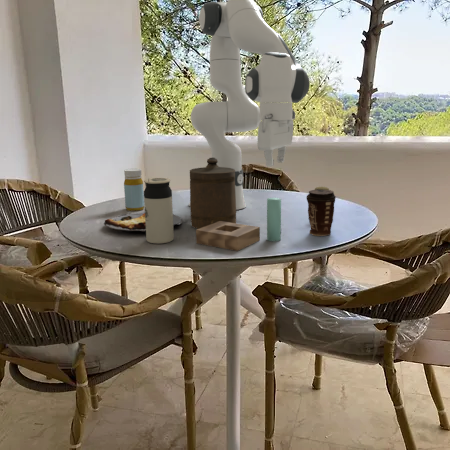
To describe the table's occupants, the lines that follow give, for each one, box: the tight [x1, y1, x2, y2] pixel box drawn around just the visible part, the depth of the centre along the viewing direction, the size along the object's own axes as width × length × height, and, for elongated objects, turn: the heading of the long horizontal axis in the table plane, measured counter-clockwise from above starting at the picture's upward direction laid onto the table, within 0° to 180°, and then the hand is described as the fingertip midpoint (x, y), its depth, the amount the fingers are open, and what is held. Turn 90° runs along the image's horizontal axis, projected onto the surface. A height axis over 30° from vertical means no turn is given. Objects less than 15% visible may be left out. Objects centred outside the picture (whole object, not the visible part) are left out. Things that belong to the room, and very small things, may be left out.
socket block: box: [195, 221, 261, 252], centre depth 140 cm, size 14×12×4 cm
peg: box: [266, 197, 282, 242], centre depth 141 cm, size 4×4×12 cm
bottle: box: [123, 168, 145, 212], centre depth 182 cm, size 7×7×15 cm
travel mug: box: [143, 177, 175, 245], centre depth 141 cm, size 8×8×18 cm
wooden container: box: [189, 157, 237, 230], centre depth 157 cm, size 15×15×22 cm
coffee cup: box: [306, 189, 337, 237], centre depth 146 cm, size 9×8×13 cm
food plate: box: [103, 211, 183, 233], centre depth 159 cm, size 25×23×4 cm
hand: (275, 164), depth 137 cm, fingers open, 8 cm apart
